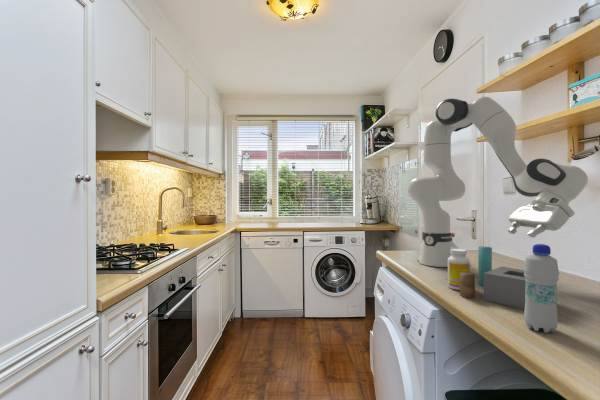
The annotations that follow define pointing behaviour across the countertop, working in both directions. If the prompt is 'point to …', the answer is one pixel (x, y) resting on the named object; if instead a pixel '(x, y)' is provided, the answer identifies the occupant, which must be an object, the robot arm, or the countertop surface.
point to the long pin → (484, 263)
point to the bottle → (541, 289)
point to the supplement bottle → (457, 267)
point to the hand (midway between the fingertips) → (520, 234)
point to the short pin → (467, 285)
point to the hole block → (505, 287)
